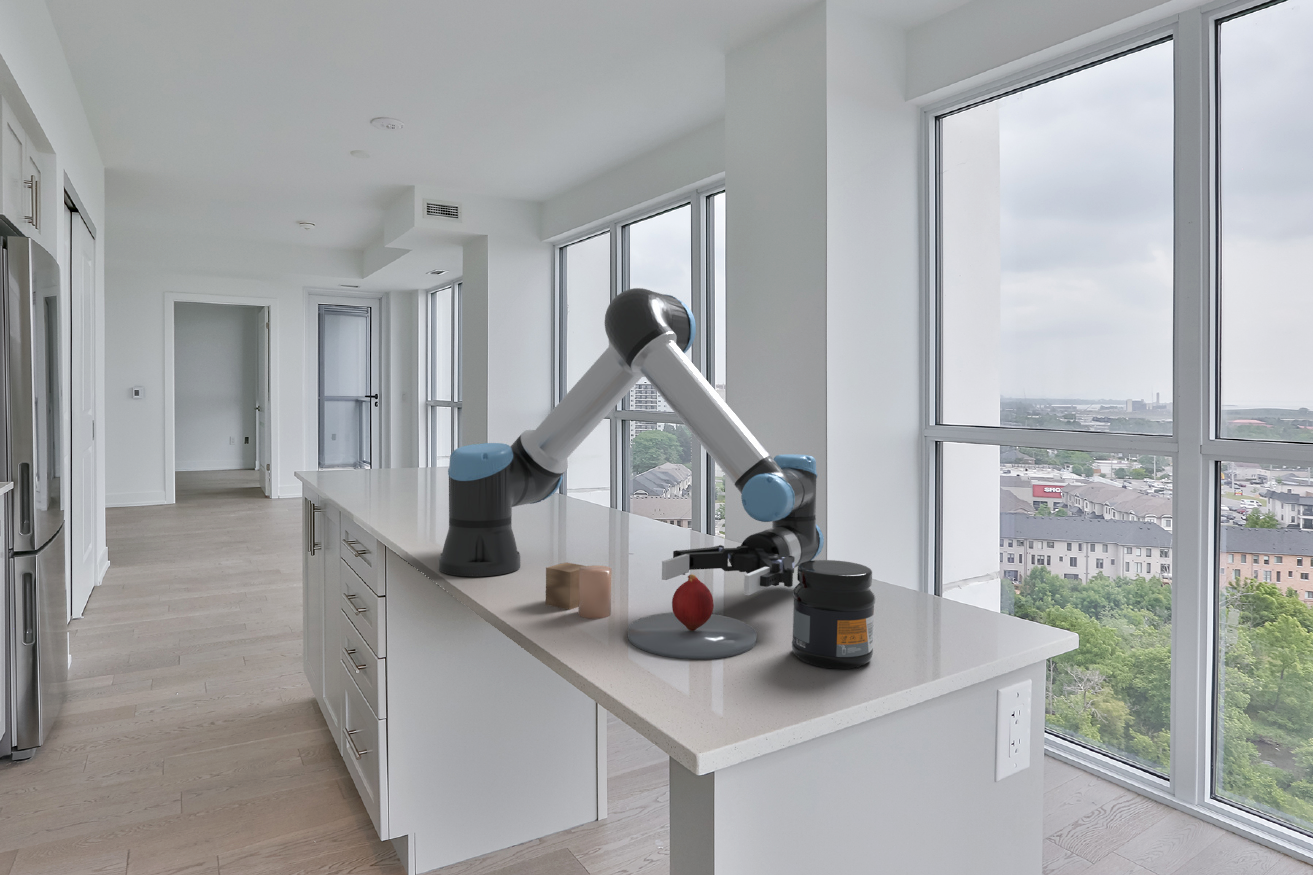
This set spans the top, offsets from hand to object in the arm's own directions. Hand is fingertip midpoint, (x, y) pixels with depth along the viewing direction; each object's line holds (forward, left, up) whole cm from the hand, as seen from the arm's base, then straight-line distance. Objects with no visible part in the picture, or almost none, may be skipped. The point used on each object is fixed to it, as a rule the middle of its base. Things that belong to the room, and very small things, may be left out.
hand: (703, 577), depth 113 cm
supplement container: (+19, +1, -8) cm, 21 cm away
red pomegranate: (0, -2, -7) cm, 8 cm away
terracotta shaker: (-18, -2, -8) cm, 20 cm away
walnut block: (-25, 0, -8) cm, 27 cm away
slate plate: (0, -3, -8) cm, 8 cm away
